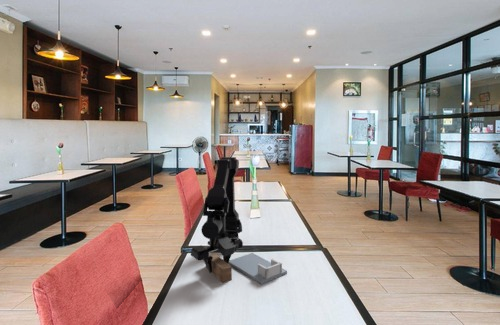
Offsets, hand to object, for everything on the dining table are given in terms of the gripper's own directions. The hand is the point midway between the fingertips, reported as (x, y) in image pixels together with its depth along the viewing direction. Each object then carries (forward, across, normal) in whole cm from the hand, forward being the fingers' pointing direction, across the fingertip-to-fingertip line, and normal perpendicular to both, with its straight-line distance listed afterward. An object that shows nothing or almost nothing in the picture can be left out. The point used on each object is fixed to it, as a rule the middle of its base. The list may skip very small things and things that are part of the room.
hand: (218, 270), depth 113 cm
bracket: (+1, +13, -6) cm, 14 cm away
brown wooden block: (+1, 0, 0) cm, 1 cm away
